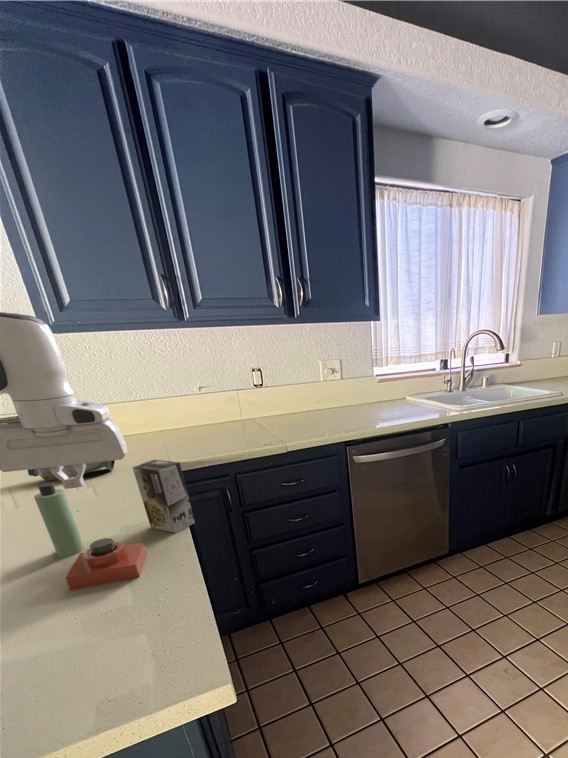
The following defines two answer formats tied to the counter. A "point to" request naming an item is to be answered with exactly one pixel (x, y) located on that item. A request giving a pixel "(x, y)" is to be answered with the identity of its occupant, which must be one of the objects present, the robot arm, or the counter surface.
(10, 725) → the counter surface
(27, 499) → the counter surface
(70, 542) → the refill bottle
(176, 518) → the coffee box
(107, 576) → the reddish-brown angled base
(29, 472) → the crushed plastic bottle
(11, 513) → the counter surface
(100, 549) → the grey button cap
